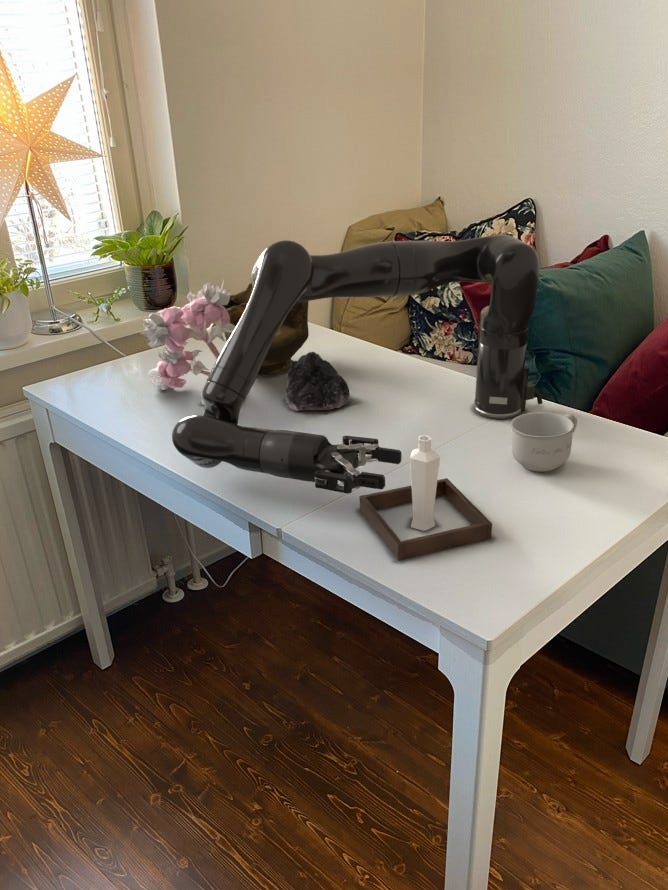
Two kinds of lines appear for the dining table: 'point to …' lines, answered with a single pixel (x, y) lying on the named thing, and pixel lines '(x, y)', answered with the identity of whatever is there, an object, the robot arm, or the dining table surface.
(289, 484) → the dining table surface
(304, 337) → the pottery vessel
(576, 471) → the dining table surface
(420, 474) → the perfume bottle
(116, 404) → the dining table surface
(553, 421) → the teacup
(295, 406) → the crystal cluster
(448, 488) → the walnut frame
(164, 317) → the flower
